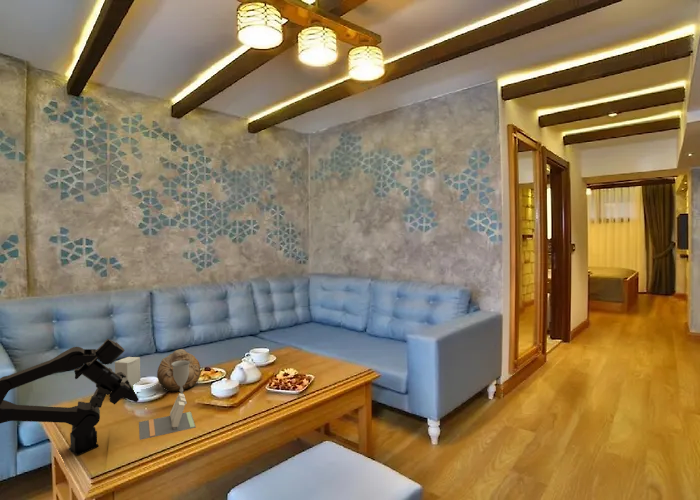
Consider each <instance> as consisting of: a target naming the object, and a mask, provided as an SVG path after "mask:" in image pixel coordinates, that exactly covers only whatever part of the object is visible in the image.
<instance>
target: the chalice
mask: <svg viewBox="0 0 700 500" xmlns="http://www.w3.org/2000/svg"><path fill="white" fill-rule="evenodd" d="M189 364H190V361H186V360H181V361H176V362H173V363H172V366H173V377H174V379H175V381H176V383H177V385H178V386H180V390H179V391H178V392H180V394H184V393H183V392H184V390H183V385H185V383H186V381H187V379H188V376H189ZM186 404H188V402H187V401H186V403H185V405H186Z"/></svg>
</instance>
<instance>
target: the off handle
mask: <svg viewBox="0 0 700 500" xmlns="http://www.w3.org/2000/svg"><path fill="white" fill-rule="evenodd" d="M185 407H186V404H184V402H179V401H178V404H177V407H176V410H175V413H174V417H173V420H172V423H171V424H172V427H178V425H179V422H180V419H181V416H182V413H184V410H185Z"/></svg>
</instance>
